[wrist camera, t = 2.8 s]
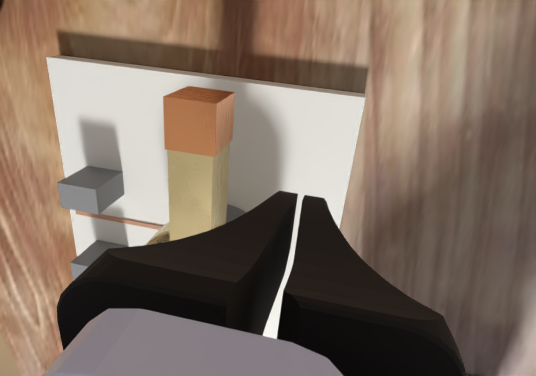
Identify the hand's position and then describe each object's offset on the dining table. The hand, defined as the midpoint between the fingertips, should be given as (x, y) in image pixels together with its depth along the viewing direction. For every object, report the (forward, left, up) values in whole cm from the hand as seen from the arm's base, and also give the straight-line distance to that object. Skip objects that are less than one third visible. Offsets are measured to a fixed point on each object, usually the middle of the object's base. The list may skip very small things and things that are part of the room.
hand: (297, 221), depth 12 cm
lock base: (+7, +6, -10) cm, 14 cm away
